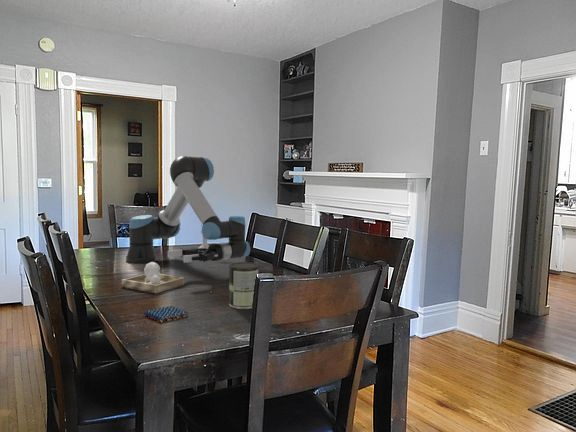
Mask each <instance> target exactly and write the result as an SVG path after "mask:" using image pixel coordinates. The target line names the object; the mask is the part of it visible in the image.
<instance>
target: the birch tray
mask: <svg viewBox="0 0 576 432" xmlns="http://www.w3.org/2000/svg"><path fill="white" fill-rule="evenodd" d="M145 277H146V276H145V274H140V275H139V274H138V275H136V276H131V277H127V278H122V279H121V288H124V287H125V288H124V289H129V288H130V290H136V291H139V292H140V291H141V292H145V293H146V292H147V293H152V294H159V293H162V292H165V291H169V290H172V289H176V288H178V287H181V286H185V277H182V276H176V275H170V274H163V273H161V279H160V280H161V281H160V284H157V285H154V284H151V282H149V283H145Z"/></svg>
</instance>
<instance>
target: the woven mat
mask: <svg viewBox="0 0 576 432" xmlns="http://www.w3.org/2000/svg"><path fill="white" fill-rule="evenodd" d="M143 315H144V316H145V317H147V316H148V317H147V318H149V317H150V318H149V319H151V320H153V319H154V321H155V320H157V321H156V322H157V323H160V322H161V323H160V324H163V323H164V322H163V321H166V320H167V321H166V322H169V321H173V320H175V321H176V320H177V319H182V318H186V317H188V316H189V313H188V312H187V311H186V310H185V311H184V309H181V308H178V307H175V306H173V305H168V306H163V307H159V308H155V309H150V310H146V311H145V312H143ZM162 322H163V323H162Z"/></svg>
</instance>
